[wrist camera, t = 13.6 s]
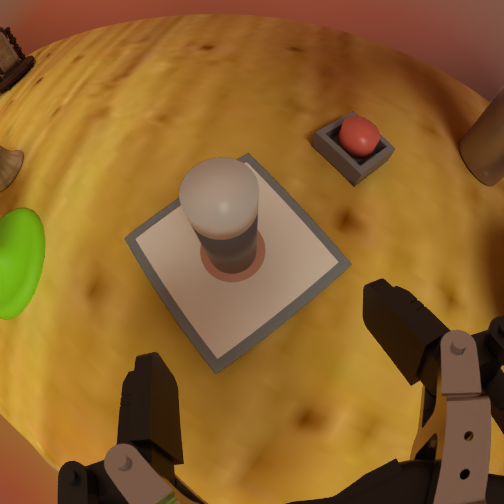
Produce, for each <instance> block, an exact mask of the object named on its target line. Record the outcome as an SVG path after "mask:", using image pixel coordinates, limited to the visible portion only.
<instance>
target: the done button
mask: <svg viewBox="0 0 504 504" xmlns="http://www.w3.org/2000/svg"><path fill="white" fill-rule="evenodd" d="M379 140H380V133H379V130H378V129H377V127H376V126H375V125H374V124H373V123H372V122H371V121H369V120H367V119H365V118H363V117H359V116H350V117H347V118H346V119H345V120H344V121H343V124H342V127H341V129H340V132H339V135H338V138H337V141H338V144H339V146H340V147H341V148H342V149H343V150H344V151H345V152H346V153H347V154H348V155H349V156H351V157H354V158H358V159H364V158H367V157H369V156H370V155H371V154H372V152H373V151H374V149H375V147H376V145H377V143H378V142H379Z"/></svg>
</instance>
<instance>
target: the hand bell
mask: <svg viewBox="0 0 504 504" xmlns="http://www.w3.org/2000/svg"><path fill="white" fill-rule="evenodd" d="M22 162H23V152H22V151H20V150H15V151H9V150H6V149H5V148H3V147H1V146H0V192H1V191H3V190H4V189H5V188H7V187H8V186H9V185H10V184H11V182H12V181H13V180H14V178H15V177H16V175H17V173H18V171H19V169H20V167H21V165H22Z"/></svg>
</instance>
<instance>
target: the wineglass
mask: <svg viewBox="0 0 504 504" xmlns="http://www.w3.org/2000/svg"><path fill="white" fill-rule="evenodd" d="M44 257H45V236H44V228H43V225H42V223H41V220H40V218H39V216H38V215H37V214H36V213H35V212H34V211H33V210H30V209H27V208H19V209H15V210H13V211H11V212H9V213H7V214H6V215H5V216H4V217H3V218H2V219H1V220H0V318H2V319H5V320H7V319H12V318H15V317H16V316H17V315H19V314H20V313H22V312H23V310H24V309H25V308H26V306H27V305H28V304H29V302H30V301H31V299H32V297H33V295H34V292H35V291H36V289H37V285H38V282H39V279H40V276H41V273H42V268H43V262H44Z"/></svg>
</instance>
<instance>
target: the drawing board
mask: <svg viewBox="0 0 504 504" xmlns="http://www.w3.org/2000/svg"><path fill="white" fill-rule="evenodd" d="M237 160H238V161H240V162H242V163H244V164H245V165H247V166H248V167H249V168H250V169H251V170H252V171H253V173H254V174H255V176H256V178H257V181H258V185H259V199H258V225H257V250H256V257H255V260H254V262H253V263H252V264H251V266H250V267H249V268H247V269H246V270H245V271H242V272H240V273H236V274H228V273H224V272H221V271H220V270H218V269H217V268H216V267H215V266H214V265H213V264H212V263H211V261H210V259H209V257H208V255H207V253H206V252H205V250H204V248H203V246H202V244H201V242H200V241H199V239H198V237H197V235H196V233H195V231H194V229H193V228H192V226H191V224H190V222H189V220H188V218H187V216H186V214H185V212H184V210H183V209H182V206H181V204H180V199H179V198H178V199H177V200H175V201H174V202H172V203H171V204H170V205H168V206H167V207H165V208H164V209H163V210H161V211H160V212H158V213H157V214H156V215H154V216H153V217H152V218H150V219H149V220H148V221H146V222H145V223H144V224H142V225H141V226H140V227H138V228H137V229H136V230H134V231H133V232H132V233H131V234H129V235H128V236H127V237H125V240H126V242H127V244H128V245H129V247H130V249H131V251H132V252H133V254H134V256H135V257H136V259H137V261H138V263H139V264H140V266H141V268H142V269H143V271H144V272H145V274H146V276H147V277H148V279H149V280H150V282H151V284H152V285H153V287H154V288H155V290H156V291H157V293H158V295H159V296H160V298H161V299H162V301H163V302H164V304H165V305H166V307H167V308H168V310H169V311H170V313H171V314H172V316H173V317H174V318H175V320H176V321H177V323H178V324H179V326H180V327H181V328H182V330H183V331H184V333H185V334H186V335H187V337H188V338H189V340H190V341H191V342H192V344H193V345H194V346H195V348H196V349H197V350H198V352H199V353H200V354H201V356H202V357H203V358H204V360H205V361H206V362H207V364H208V365H209V366H210V367H211V369H212V370H213V371H214V373H215V374H217V373H218V372H220V371H221V370H222V369H224V368H225V367H227V366H228V365H229V364H231V363H232V362H233V361H235V360H236V359H238V358H239V357H240V356H242V355H243V354H244V353H246V352H247V351H248V350H250V349H251V348H252V347H254V346H255V345H256V344H258V343H259V342H260V341H261V340H263V339H264V338H265V337H267V336H268V335H269V334H270V333H272V332H273V331H274V330H275V329H277V328H278V327H279V326H280V325H282V324H283V323H284V322H285V321H287V320H288V319H289V318H290V317H292V316H293V315H294V314H295V313H296V312H298V311H299V310H300V309H301V308H302V307H304V306H305V305H306V304H307V303H308V302H310V301H311V300H312V299H313V298H314V297H316V296H317V295H318V294H319V293H320V292H321V291H322V290H324V289H325V288H326V287H327V286H328V285H329V284H330V283H332V282H333V281H334V280H335V279H336V278H337V277H338V276H339V275H341V274H342V273H343V272H344V271H345V270H346V269H347V268H348V267H349V266H351V265H352V264H351V263H350V262H349V260H348V259H347V258H346V257H345V256H344V255H343V253H342V252H341V251H340V250H339V249H338V248H337V246H336V245H335V244H334V243H333V242H332V241H331V240H330V238H329V237H328V236H327V235H326V234H325V233H324V232H323V231H322V229H321V228H320V227H319V226H318V225H317V224H316V223H315V222H314V221H313V219H312V218H311V217H310V216H309V215H308V214H307V213H306V212H305V211H304V210H303V209H302V207H301V206H300V205H299V204H298V203H297V202H296V201H295V200H294V199H293V198H292V197H291V196H290V195H289V194H288V193H287V191H286V190H285V189H284V188H283V187H282V186H281V185H280V184H279V183H278V182H277V181H276V180H275V179H274V178H273V177H272V176H271V175H270V174H269V173H268V172H267V171H266V170H265V169H264V168H263V167H262V166H261V165H260V164H259V163H258V162H257V161H256V160H255V159H254V158H253V157H252V156H251V155H250V154H249V153H247V154H246V155H244V156H242V157H241V158H239V159H237Z"/></svg>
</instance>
